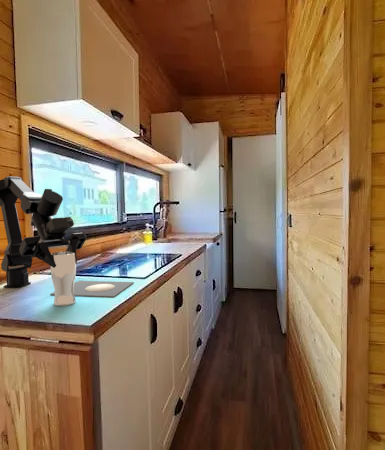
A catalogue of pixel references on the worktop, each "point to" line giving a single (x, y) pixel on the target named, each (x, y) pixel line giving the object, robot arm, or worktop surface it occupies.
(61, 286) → the beer glass
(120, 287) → the slate mat
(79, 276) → the worktop surface
